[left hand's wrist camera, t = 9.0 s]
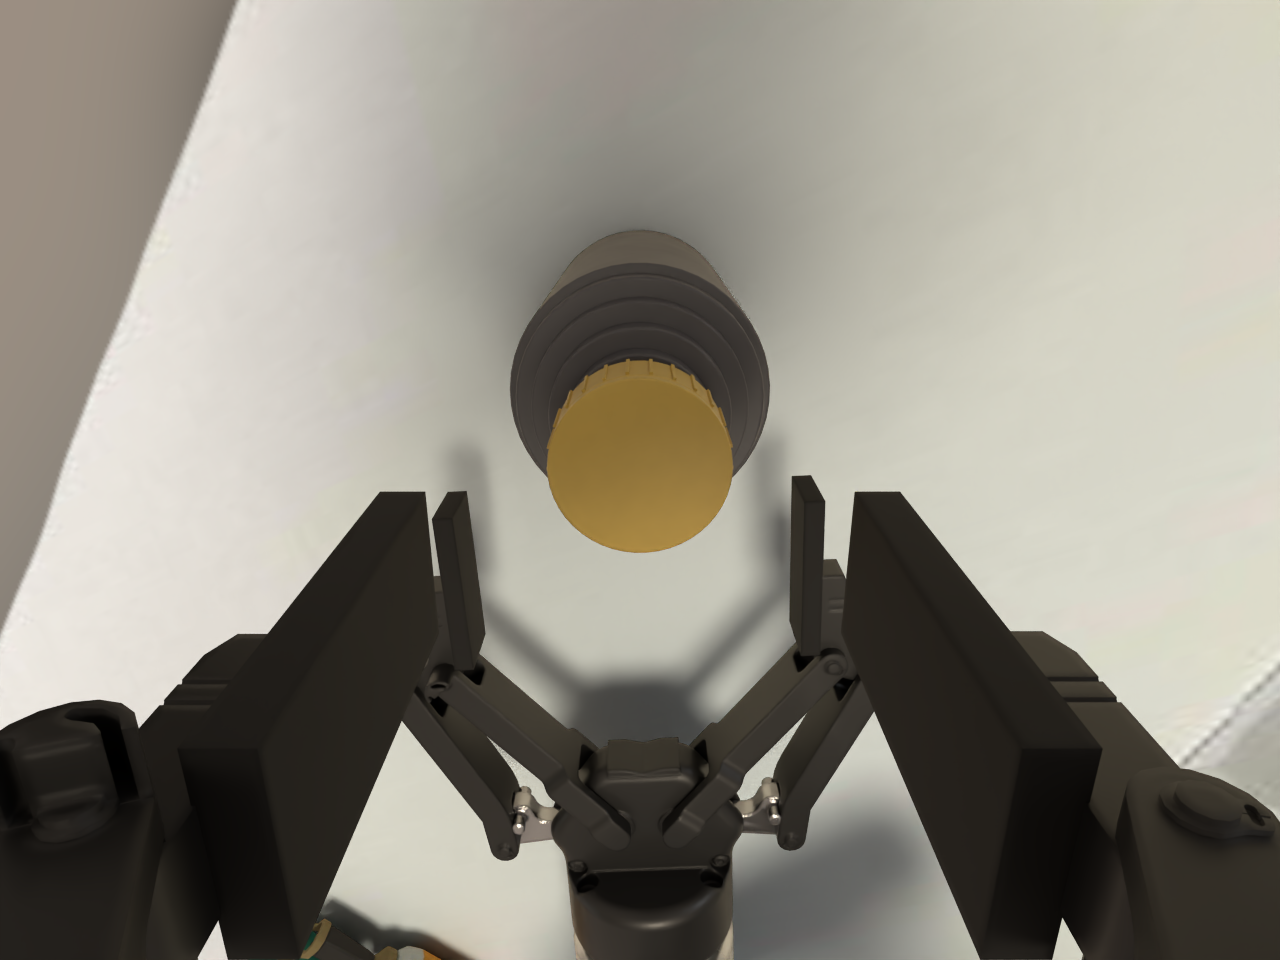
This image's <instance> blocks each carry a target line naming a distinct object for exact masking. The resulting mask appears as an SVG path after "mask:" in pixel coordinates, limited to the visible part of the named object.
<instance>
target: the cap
mask: <svg viewBox="0 0 1280 960" xmlns="http://www.w3.org/2000/svg"><path fill="white" fill-rule="evenodd" d="M725 426H727V425H726V422H725V419H724V416H723V413H722V410H721V408H720V407H719V408H718V407H717V405H716V404H715V402H714V400H713V399H712V396H711V392H710V390H709V389H707V390H706V389H705V388H704V387H703V386H702V385H701V384H700V383H698V382H697V381H696V380H695V377H694V375H692V374H691V375H690V376H689V375H688V374H686V373H685V372H683V371H681V370H679V369H677V368H675V365H673V364H671V366H669V365H667V364H663V363H659V362H653V359H649V361H630V359H626V362H621V363H617V364H614V365H610V366H608V365H607V364H606V365H604V368H603V369H601V370H599V371H597V372H595V373H594V374H592V375H590V376H588V375H586V376H585V378H584V381H583V382H581V383H580V384H579V385H578V386H577V387H576V388H575V389H574V390H573V391H572V390H570V392H569V394H568V397H567V400H566V402H565V404H564V405H563V407H562V409H560V408H559V410H558V412H557V415H556V418H555V421H554V424H553V427H554V428H555V429H553V430H552V433H551V436H550V439H549V442H548V445H547V449H549V450H548V458H547V473H548V480H549V485H550V489H551V492H552V495H553V497H554V499H555V501H556V503H557V505H558V507H559V509H560V510H561V512H562V513H563V515H564V516H565V518H566V519H567V520H568V521H569V522H570V523H571V524H572V525H573V526H574V527H575V528H576V529H577V530H578V531H579V532H581V533H582V534H583V535H585V536H586V537H588V538H589V539H591V540H593V541H595V542H597V543H599V544H601V545H603V546H606V547H609V548H612V549H615V550H620V551H625V552H634V553H646V552H655V551H660V550H664V549H668V548H671V547H674V546H677V545H679V544H681V543H683V542H685V541H687V540H689V539H691V538H692V537H694V536H695V535H696V534H698V533H699V532H701V531H702V530H703V529H704V528H705V527H706V526H707V525H708V524H709V523H710V522H711V521H712V520H713V518H714V517H715V516H716V515H717V513H718V512H719V510H720V509H721V507H722V505H723V503H724V501H725V499H726V497H727V495H728V491H729V488H730V485H731V479H732V473H733V467H734V466H733V459H732V450H731V448H732V447H733V445H732V441H731V438H730V435H729V432H728V429H727V427H726V428H725Z"/></svg>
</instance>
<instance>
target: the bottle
mask: <svg viewBox="0 0 1280 960" xmlns="http://www.w3.org/2000/svg"><path fill="white" fill-rule="evenodd" d="M626 359H630V361H649V359H653V362H659V363H663V364H667V365H669V366H671V364H673V365H675V368H677V369H679V370H681V371H683V372H685V373H686V374H688V375H689V376H690V375H691V374H692V375H694V377H695V380H696V381H697V382H698V383H700V384H701V385H702V386H703V387H704V388H705V389H706V390H707V389H709V390H710V392H711V396H712V399H713V400H714V402H715V404H716V405H717V407H718V408H719V407H720V408H721V410H722V413H723V416H724V419H725V422H726V425H727V426H725V428H726V427H727V429H728V432H729V435H730V438H731V441H732V445H733V447H732V448H731V450H732V459H733V466H734V467H733V473H732V477H733V476H734V475H735V474H736V473H737V472H738V471H739V469H740V468H741V467H742V466H743V465H744V464H745V462H746V461H747V459H748V458H749V456H750V455H751V453H752V451H753V450H754V448H755V446H756V444H757V442H758V440H759V438H760V436H761V433H762V430H763V427H764V424H765V421H766V417H767V412H768V406H769V395H770V381H769V371H768V365H767V361H766V357H765V353H764V350H763V347H762V345H761V342H760V339H759V337H758V335H757V333H756V331H755V330H754V328H753V326H752V324H751V322H750V321H749V319H748V318H747V316H746V315H745V313H744V312H743V311H742V309H741V308H740V306H739V305H738V303H737V302H736V301H735V299H734V298H733V296H732V295H731V293H730V292H729V290H728V289H727V288H726V286H725V285H724V283H723V282H722V280H721V279H720V277H719V276H718V275H717V273H716V272H715V270H714V269H713V268H712V266H711V265H710V264H709V262H708V261H707V260H706V259H705V258H704V257H703V256H702V255H701V254H700V253H699V252H698V251H696V250H695V249H694V248H693V247H691V246H690V245H688V244H686V243H685V242H683V241H681V240H680V239H677V238H675V237H672V236H670V235H667V234H663V233H659V232H654V231H645V230H638V231H627V232H620V233H617V234H613V235H610V236H607V237H605V238H603V239H601V240H599V241H597V242H595V243H594V244H592V245H590V246H589V247H587V248H586V249H585V250H584V251H582V252H581V253H580V254H579V255H578V256H577V257H576V258H575V259H574V260H573V261H572V262H571V263H570V265H569V266H568V268H567V269H566V270H565V272H564V273H563V275H562V276H561V278H560V279H559V280H558V282H557V283H556V285H555V286H554V288H553V289H552V291H551V292H550V293H549V295H548V296H547V298H546V299H545V301H544V302H543V304H542V305H541V306H540V308H539V309H538V311H537V312H536V314H535V315H534V317H533V318H532V320H531V321H530V322H529V324H528V325H527V327H526V329H525V331H524V333H523V335H522V337H521V339H520V341H519V344H518V347H517V350H516V353H515V356H514V360H513V365H512V370H511V381H510V396H511V407H512V412H513V417H514V421H515V424H516V427H517V430H518V433H519V436H520V438H521V440H522V442H523V444H524V446H525V448H526V450H527V452H528V453H529V455H530V456H531V458H532V459H533V461H534V462H535V464H536V465H537V466H538V467H539V468H540V470H541V471H542V472H543V473H544V474H545V475H546V476H547V477H548V473H547V458H548V450H549V449H547V445H548V442H549V439H550V436H551V433H552V430H553V429H555V428H554V427H553V424H554V421H555V418H556V415H557V412H558V410H559V408H560V409H562V407H563V405H564V404H565V402H566V400H567V397H568V394H569V392H570V390H572V391H573V390H574V389H575V388H576V387H577V386H578V385H579V384H580V383H581V382H583V381H584V378H585V376H586V375H588V376H590V375H592V374H594V373H595V372H597V371H599V370H601V369H603V368H604V365H606V364H607V365H608V366H610V365H614V364H617V363H621V362H626Z"/></svg>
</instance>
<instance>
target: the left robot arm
mask: <svg viewBox="0 0 1280 960" xmlns="http://www.w3.org/2000/svg"><path fill="white" fill-rule="evenodd" d="M438 634H439V627H438V617H437V607H436V596H435V586H434V576H433V566H432V556H431V546H430V536H429V525H428V515H427V505H426V495H425V492H379V494H378V495H377V496H376V497H375V499H374V500H373V501H372V503H371V504H370V505H369V506H368V508H367V509H366V510H365V511H364V513H363V514H362V515H361V516H360V518H359V519H358V520H357V522H356V523H355V524H354V525H353V527H352V528H351V529H350V530H349V532H348V533H347V534H346V535H345V537H344V538H343V539H342V541H341V542H340V543H339V544H338V546H337V547H336V548H335V549H334V551H333V552H332V553H331V554H330V556H329V557H328V558H327V560H326V561H325V562H324V563H323V565H322V566H321V567H320V568H319V570H318V571H317V572H316V573H315V575H314V576H313V577H312V579H311V580H310V581H309V582H308V584H307V585H306V586H305V587H304V589H303V590H302V591H301V592H300V594H299V595H298V596H297V597H296V599H295V600H294V601H293V603H292V604H291V605H290V606H289V608H288V609H287V610H286V611H285V613H284V614H283V615H282V616H281V618H280V619H279V620H278V622H277V623H276V624H275V625H274V627H273V628H272V629H271V630H270V632H269V633H268V634H237V635H236V636H234V637H232V638H231V639H229V640H227V641H226V642H224V643H223V644H221V645H219V646H218V647H216V648H215V649H213V650H211V651H210V652H208V653H207V654H205V655H204V656H203V657H202V658H201V659H200V660H199V661H198V662H197V664H196V665H195V666H194V667H193V668H192V669H191V670H190V671H189V673H188V674H187V675H186V676H185V677H184V678H183V679H182V684H178V685H177V686H176V687H175V688H174V690H173V691H172V692H171V693H170V694H169V695H168V696H167V697H166V699H165V700H164V705H159V706H158V708H157V709H156V710H155V711H154V712H153V713H152V714H151V715H150V717H149V718H148V719H147V720H146V721H145V722H144V723H143V725H142V726H141V727H140V728H138V724H137V720H136V716H135V713H134V712H133V711H132V710H130V709H129V708H128V707H126V706H125V705H123V704H122V703H117V702H111V701H104V700H92V701H81V702H71V703H67V704H63V705H60V706H56V707H52V708H49V709H45V710H42V711H38V712H36V713H34V714H32V715H30V716H27V717H25V718H23V719H21V720H18V721H16V722H14V723H12V724H9V725H8V726H6V727H5V728H3V729H2V730H0V960H198V956H199V954H200V952H201V950H202V949H203V947H204V945H205V943H206V941H207V940H208V938H209V936H210V934H211V932H212V931H213V929H214V927H215V925H216V924H217V922H218V920H219V925H220V929H221V933H222V937H223V941H224V945H225V950H226V954H227V958H228V960H300V958H301V955H302V953H303V950H304V948H305V946H306V943H307V941H308V939H309V936H310V934H311V932H312V929H313V927H314V925H315V922H316V920H317V918H318V915H319V913H320V911H321V908H322V906H323V904H324V901H325V899H326V897H327V894H328V892H329V890H330V887H331V885H332V883H333V880H334V878H335V876H336V873H337V871H338V869H339V866H340V864H341V862H342V859H343V857H344V855H345V852H346V850H347V847H348V845H349V843H350V840H351V838H352V836H353V833H354V831H355V829H356V826H357V824H358V822H359V819H360V817H361V815H362V812H363V810H364V808H365V805H366V803H367V801H368V798H369V796H370V794H371V791H372V789H373V787H374V784H375V782H376V780H377V777H378V775H379V773H380V770H381V768H382V766H383V763H384V761H385V759H386V756H387V754H388V751H389V749H390V747H391V744H392V742H393V740H394V737H395V735H396V733H397V730H398V728H399V726H400V723H401V721H402V719H403V716H404V714H405V712H406V709H407V707H408V705H409V702H410V700H411V698H412V695H413V693H414V691H415V688H416V686H417V684H418V681H419V679H420V677H421V674H422V672H423V670H424V667H425V665H426V663H427V660H428V658H429V656H430V653H431V651H432V648H433V646H434V644H435V641H436V639H437V637H438ZM841 634H842V637H843V639H844V641H845V644H846V646H847V649H848V651H849V653H850V656H851V658H852V660H853V663H854V665H855V667H856V670H857V672H858V674H859V677H860V679H861V681H862V684H863V686H864V688H865V691H866V693H867V695H868V698H869V700H870V702H871V705H872V707H873V709H874V712H875V714H876V716H877V719H878V721H879V723H880V726H881V728H882V730H883V733H884V735H885V737H886V740H887V742H888V744H889V747H890V749H891V752H892V754H893V756H894V759H895V761H896V763H897V766H898V768H899V770H900V773H901V775H902V777H903V780H904V782H905V784H906V787H907V789H908V791H909V794H910V796H911V798H912V801H913V803H914V805H915V808H916V810H917V812H918V815H919V817H920V819H921V822H922V824H923V826H924V829H925V831H926V833H927V836H928V838H929V840H930V843H931V845H932V848H933V850H934V852H935V855H936V857H937V859H938V862H939V864H940V866H941V869H942V871H943V873H944V876H945V878H946V880H947V883H948V885H949V887H950V890H951V892H952V894H953V897H954V899H955V901H956V904H957V906H958V908H959V911H960V913H961V915H962V918H963V920H964V922H965V925H966V927H967V929H968V932H969V934H970V936H971V939H972V941H973V943H974V946H975V948H976V951H977V953H978V955H979V958H980V960H1052V958H1053V954H1054V950H1055V945H1056V941H1057V937H1058V933H1059V929H1060V925H1061V920H1062V918H1063V919H1064V921H1065V923H1066V925H1067V926H1068V928H1069V930H1070V932H1071V934H1072V935H1073V937H1074V939H1075V941H1076V943H1077V944H1078V946H1079V948H1080V950H1081V951H1082V953H1083V957H1082V960H1280V822H1279V820H1278V819H1277V817H1276V816H1275V815H1274V813H1273V812H1272V811H1270V810H1269V809H1268V808H1267V807H1265V806H1264V805H1263V804H1261V803H1260V802H1259V801H1258V800H1256V799H1255V798H1254V797H1252V796H1251V795H1250V794H1248V793H1246V792H1245V791H1243V790H1241V789H1239V788H1237V787H1235V786H1233V785H1231V784H1229V783H1227V782H1225V781H1223V780H1221V779H1219V778H1215V777H1212V776H1209V775H1206V774H1202V773H1199V772H1196V771H1193V770H1189V769H1180V768H1179V767H1178V765H1177V764H1176V763H1175V762H1174V761H1173V760H1172V759H1171V758H1170V757H1169V755H1168V754H1167V753H1166V752H1165V751H1164V750H1163V749H1162V748H1161V746H1160V745H1159V744H1158V743H1157V742H1156V741H1155V740H1154V739H1153V737H1152V736H1151V735H1150V734H1149V733H1148V732H1147V731H1146V730H1145V728H1144V727H1143V726H1142V725H1141V724H1140V723H1139V722H1138V721H1137V720H1136V718H1135V717H1134V716H1133V715H1132V714H1131V713H1130V712H1129V711H1128V709H1127V708H1126V707H1125V706H1124V705H1123V704H1122V703H1121V702H1117V700H1116V698H1117V697H1116V696H1115V695H1114V694H1113V693H1112V691H1111V690H1110V689H1109V688H1108V687H1107V686H1106V685H1105V684H1104V683H1103V682H1099V680H1098V676H1097V675H1096V674H1095V672H1094V671H1093V670H1092V669H1091V668H1090V667H1089V666H1088V665H1087V663H1086V662H1085V661H1084V660H1083V659H1082V658H1081V657H1080V656H1079V654H1078V653H1077V652H1075V651H1074V650H1072V649H1070V648H1069V647H1067V646H1066V645H1064V644H1062V643H1061V642H1059V641H1057V640H1056V639H1054V638H1053V637H1051V636H1049V635H1048V634H1046V633H1044V632H1043V631H1010V630H1009V629H1008V628H1007V627H1006V625H1005V624H1004V623H1003V622H1002V620H1001V619H1000V618H999V616H998V615H997V614H996V613H995V611H994V610H993V609H992V608H991V606H990V605H989V604H988V603H987V601H986V600H985V599H984V598H983V596H982V595H981V594H980V592H979V591H978V590H977V589H976V587H975V586H974V585H973V584H972V582H971V581H970V580H969V579H968V577H967V576H966V575H965V573H964V572H963V571H962V570H961V568H960V567H959V566H958V565H957V563H956V562H955V561H954V560H953V558H952V557H951V556H950V554H949V553H948V552H947V551H946V549H945V548H944V547H943V546H942V544H941V543H940V542H939V541H938V539H937V538H936V537H935V535H934V534H933V533H932V532H931V530H930V529H929V528H928V527H927V525H926V524H925V523H924V522H923V520H922V519H921V518H920V516H919V515H918V514H917V513H916V511H915V510H914V509H913V508H912V506H911V505H910V504H909V503H908V501H907V500H906V499H905V498H904V496H903V495H902V494H901V492H855V495H854V505H853V515H852V525H851V535H850V546H849V556H848V566H847V576H846V586H845V596H844V606H843V617H842V627H841Z"/></svg>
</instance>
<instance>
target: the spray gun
mask: <svg viewBox="0 0 1280 960" xmlns="http://www.w3.org/2000/svg"><path fill="white" fill-rule="evenodd" d="M313 931H319V932H318V933H317V934H316V933H315V932H313ZM300 960H441V959H439V958H437V957H436V956H434V955H432V954H430V953H429V952H427V951H425V950H423V949H420V948H416V947H411V946H406V947H404V948H402V949H399V950H396V949H394V948H393V947H390V946H387V947H385V948H384V949H382V950H381V951H380V952H379V953H378V954H376V955H373V954H372V953H371V952H370V951H369V950H368V949H366V948H365V947H363V946H362V945H360V944H359V943H357V942H356V941H354V940H353V939H351V938H350V937H348V936H347V935H346V934H344V933H343V932H341V931H340V930H338V929H337V928H335V927H334V926H333V927H331V922H330V921H328V920H326V919H323V920H322V921H321V922H319V923H315V925H314V927H313V929H312V932H311V934H310V936H309V939H308V941H307V943H306V946H305V948H304V950H303V953H302V955H301V958H300Z"/></svg>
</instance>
